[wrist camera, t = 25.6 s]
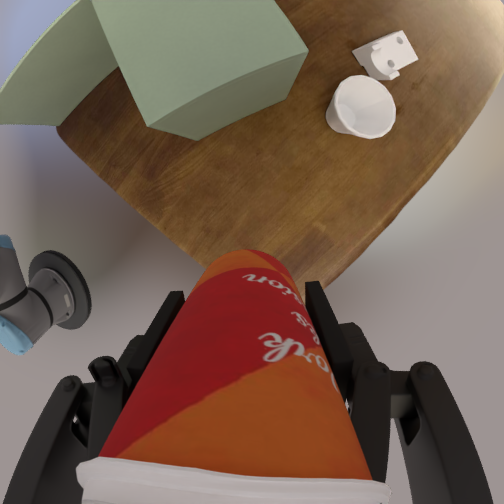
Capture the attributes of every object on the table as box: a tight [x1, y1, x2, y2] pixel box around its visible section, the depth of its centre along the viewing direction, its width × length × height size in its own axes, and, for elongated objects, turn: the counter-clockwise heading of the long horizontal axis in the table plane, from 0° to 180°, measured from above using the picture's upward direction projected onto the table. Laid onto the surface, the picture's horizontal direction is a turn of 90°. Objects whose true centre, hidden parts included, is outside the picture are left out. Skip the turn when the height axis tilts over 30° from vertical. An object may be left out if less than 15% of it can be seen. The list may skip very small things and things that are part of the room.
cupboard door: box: [0, 0, 119, 126], centre depth 29 cm, size 7×26×24 cm, turn 123°
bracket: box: [352, 31, 418, 80], centre depth 35 cm, size 13×7×8 cm, turn 127°
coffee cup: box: [76, 250, 391, 504], centre depth 10 cm, size 8×8×15 cm
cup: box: [326, 75, 396, 139], centre depth 38 cm, size 10×10×13 cm
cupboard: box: [91, 0, 309, 141], centre depth 30 cm, size 18×26×24 cm
